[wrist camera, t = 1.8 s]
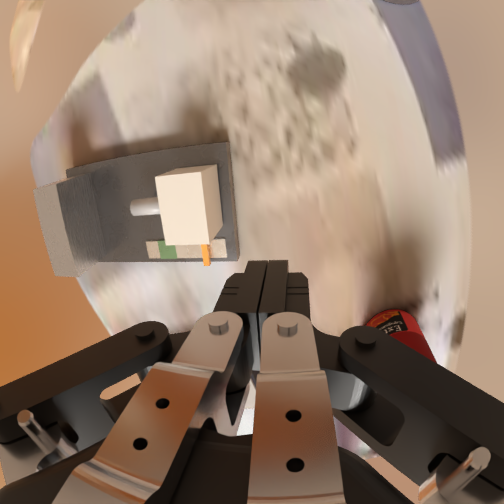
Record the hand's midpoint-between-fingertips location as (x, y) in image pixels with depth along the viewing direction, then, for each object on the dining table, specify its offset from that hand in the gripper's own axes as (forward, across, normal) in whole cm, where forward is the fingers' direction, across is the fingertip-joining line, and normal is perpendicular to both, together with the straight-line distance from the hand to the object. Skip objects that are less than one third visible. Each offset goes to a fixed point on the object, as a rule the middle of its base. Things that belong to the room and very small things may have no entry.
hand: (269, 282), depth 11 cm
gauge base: (+19, +15, +1) cm, 24 cm away
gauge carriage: (+17, +10, +2) cm, 20 cm away
